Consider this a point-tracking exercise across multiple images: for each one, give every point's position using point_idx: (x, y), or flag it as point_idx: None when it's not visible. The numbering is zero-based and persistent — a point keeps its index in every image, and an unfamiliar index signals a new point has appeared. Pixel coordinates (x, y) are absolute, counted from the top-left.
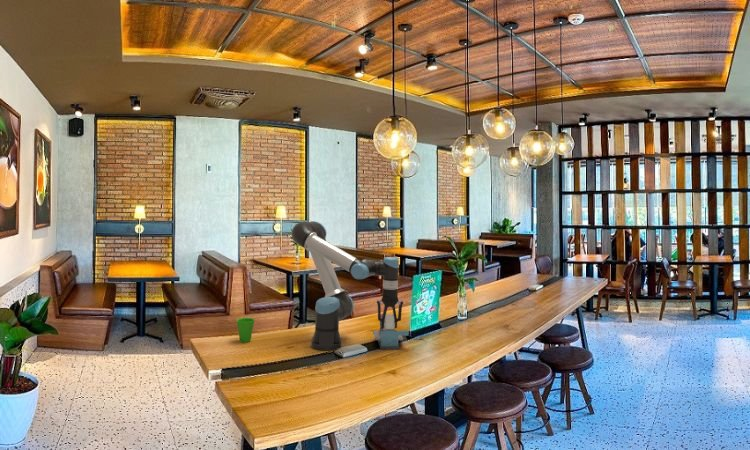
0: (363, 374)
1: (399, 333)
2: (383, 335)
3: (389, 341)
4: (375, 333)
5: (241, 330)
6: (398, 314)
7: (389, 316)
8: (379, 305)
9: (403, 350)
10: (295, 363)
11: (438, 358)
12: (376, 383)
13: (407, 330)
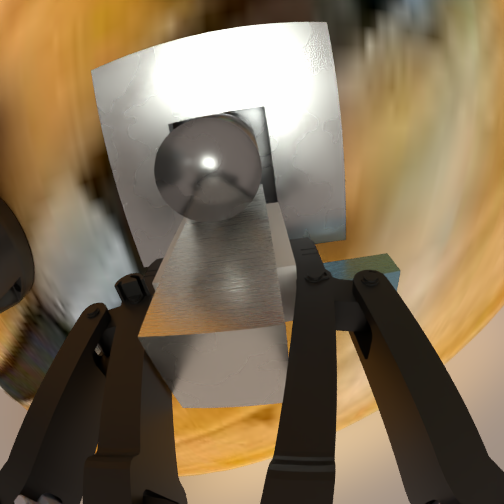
0: (194, 425)
1: None
2: None
3: None
4: (118, 153)
5: None
6: (375, 356)
7: (229, 403)
8: (68, 501)
9: (325, 249)
10: (34, 372)
11: (433, 314)
12: (231, 443)
13: (395, 273)
